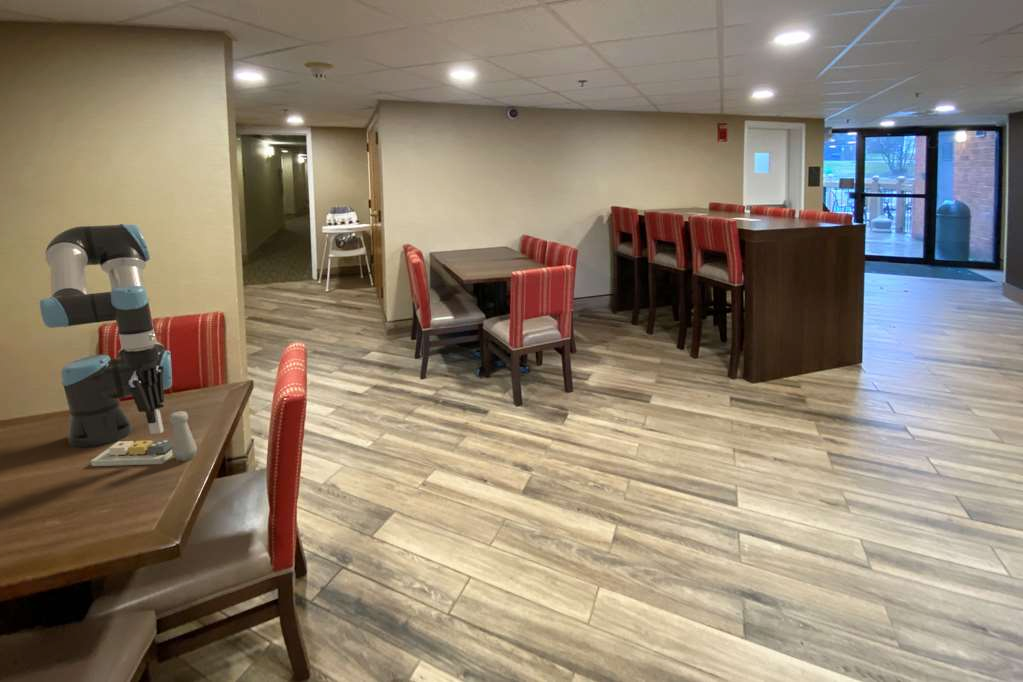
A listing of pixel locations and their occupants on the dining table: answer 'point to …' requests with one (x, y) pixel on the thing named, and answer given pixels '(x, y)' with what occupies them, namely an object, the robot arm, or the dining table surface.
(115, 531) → the dining table surface
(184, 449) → the salt shaker
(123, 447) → the tile
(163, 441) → the tile
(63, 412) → the dining table surface
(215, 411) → the dining table surface
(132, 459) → the tile board
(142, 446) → the tile
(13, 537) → the dining table surface
